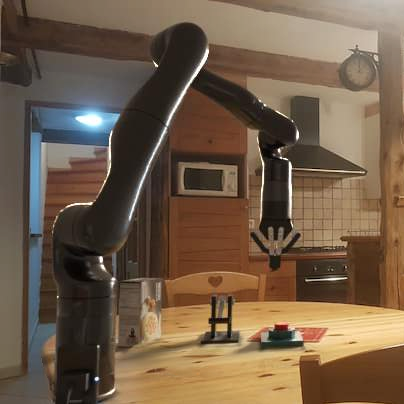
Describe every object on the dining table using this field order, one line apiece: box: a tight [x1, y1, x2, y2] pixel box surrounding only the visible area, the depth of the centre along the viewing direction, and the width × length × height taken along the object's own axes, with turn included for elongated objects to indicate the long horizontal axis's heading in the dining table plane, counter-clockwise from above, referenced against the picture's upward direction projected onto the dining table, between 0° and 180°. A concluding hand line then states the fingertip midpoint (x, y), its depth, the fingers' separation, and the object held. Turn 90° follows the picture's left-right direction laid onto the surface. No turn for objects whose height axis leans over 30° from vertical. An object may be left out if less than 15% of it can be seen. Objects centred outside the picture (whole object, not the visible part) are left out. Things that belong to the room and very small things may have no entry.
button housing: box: [260, 326, 305, 349], centre depth 130 cm, size 12×10×4 cm
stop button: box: [273, 321, 290, 331], centre depth 130 cm, size 4×4×2 cm
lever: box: [207, 295, 230, 325], centre depth 130 cm, size 12×5×2 cm, turn 11°
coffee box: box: [117, 277, 163, 348], centre depth 131 cm, size 9×6×16 cm
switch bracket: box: [200, 293, 241, 344], centre depth 134 cm, size 12×9×12 cm
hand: (274, 270), depth 128 cm, fingers closed
